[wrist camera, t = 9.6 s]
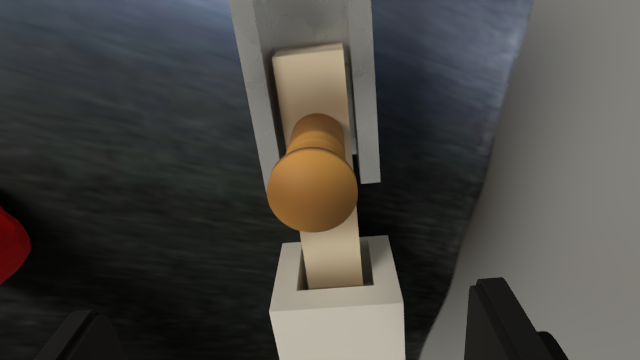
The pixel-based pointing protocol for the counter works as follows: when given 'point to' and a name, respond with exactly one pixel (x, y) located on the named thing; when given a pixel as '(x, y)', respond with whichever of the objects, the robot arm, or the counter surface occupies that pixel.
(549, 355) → the robot arm
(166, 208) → the counter surface
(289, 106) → the slip bar
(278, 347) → the socket block
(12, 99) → the counter surface
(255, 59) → the channel sleeve
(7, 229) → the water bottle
